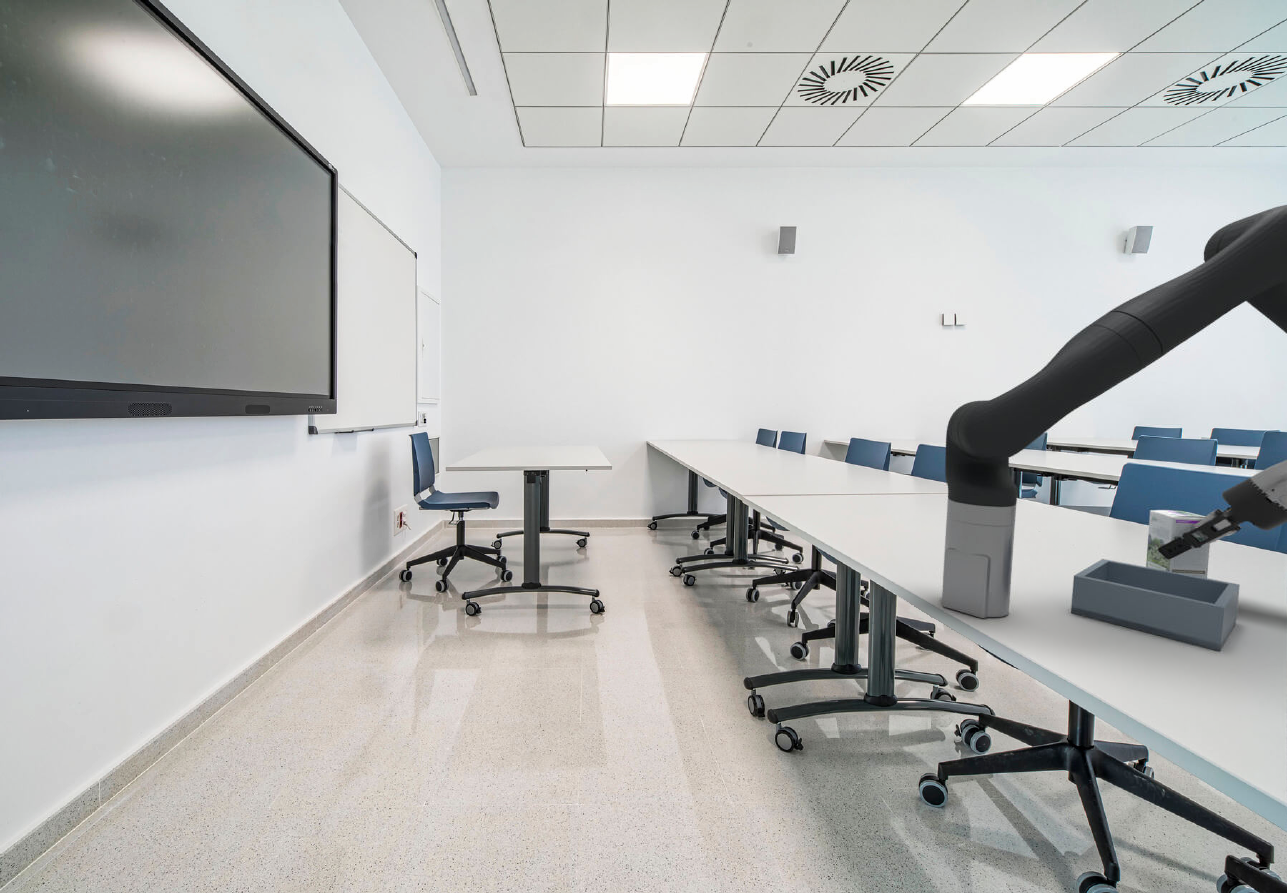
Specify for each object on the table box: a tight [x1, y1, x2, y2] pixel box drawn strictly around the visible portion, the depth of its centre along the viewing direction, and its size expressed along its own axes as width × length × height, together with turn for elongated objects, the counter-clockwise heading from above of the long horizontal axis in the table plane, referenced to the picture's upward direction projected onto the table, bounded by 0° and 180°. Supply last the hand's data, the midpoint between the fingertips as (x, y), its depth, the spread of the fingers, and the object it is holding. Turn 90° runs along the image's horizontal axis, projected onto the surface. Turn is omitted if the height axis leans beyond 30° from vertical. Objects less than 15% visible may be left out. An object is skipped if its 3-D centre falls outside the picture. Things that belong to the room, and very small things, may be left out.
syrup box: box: [1145, 509, 1212, 579], centre depth 91 cm, size 6×6×14 cm
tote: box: [1070, 558, 1241, 652], centre depth 81 cm, size 16×16×6 cm
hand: (1167, 550), depth 92 cm, fingers closed on syrup box, 8 cm apart
